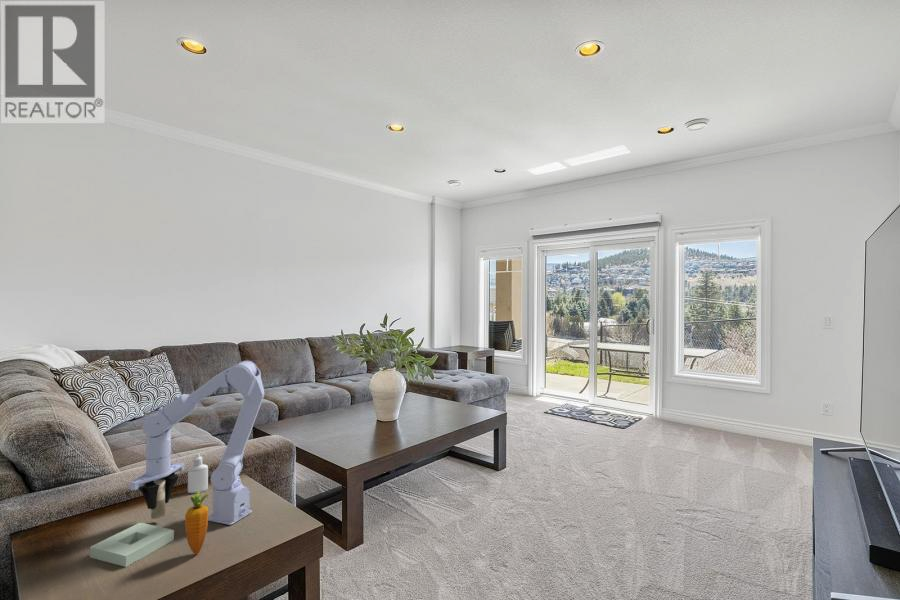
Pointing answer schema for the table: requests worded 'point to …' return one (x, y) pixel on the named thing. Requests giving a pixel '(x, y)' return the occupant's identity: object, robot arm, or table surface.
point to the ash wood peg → (159, 500)
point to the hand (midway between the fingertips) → (158, 505)
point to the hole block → (131, 544)
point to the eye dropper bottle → (197, 476)
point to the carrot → (196, 523)
